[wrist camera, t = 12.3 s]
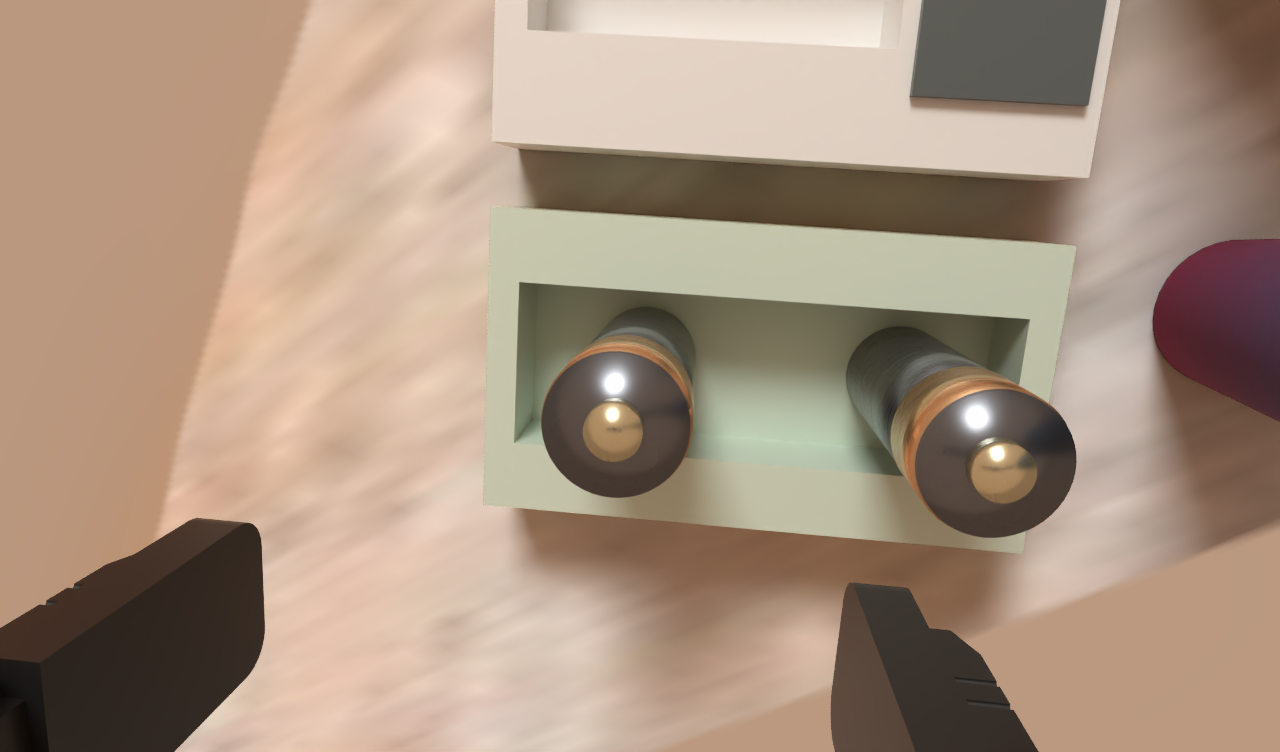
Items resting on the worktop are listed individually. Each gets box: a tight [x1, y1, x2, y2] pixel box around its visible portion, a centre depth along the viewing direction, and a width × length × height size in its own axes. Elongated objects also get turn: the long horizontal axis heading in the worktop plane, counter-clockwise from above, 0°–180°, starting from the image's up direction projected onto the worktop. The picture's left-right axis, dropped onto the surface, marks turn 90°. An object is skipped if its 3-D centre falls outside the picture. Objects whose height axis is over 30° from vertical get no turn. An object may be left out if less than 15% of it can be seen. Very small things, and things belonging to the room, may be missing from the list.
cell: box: [541, 307, 696, 498], centre depth 24 cm, size 4×4×11 cm
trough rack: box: [483, 206, 1077, 554], centre depth 28 cm, size 18×10×4 cm, turn 86°
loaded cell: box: [846, 326, 1076, 538], centre depth 24 cm, size 4×4×11 cm
